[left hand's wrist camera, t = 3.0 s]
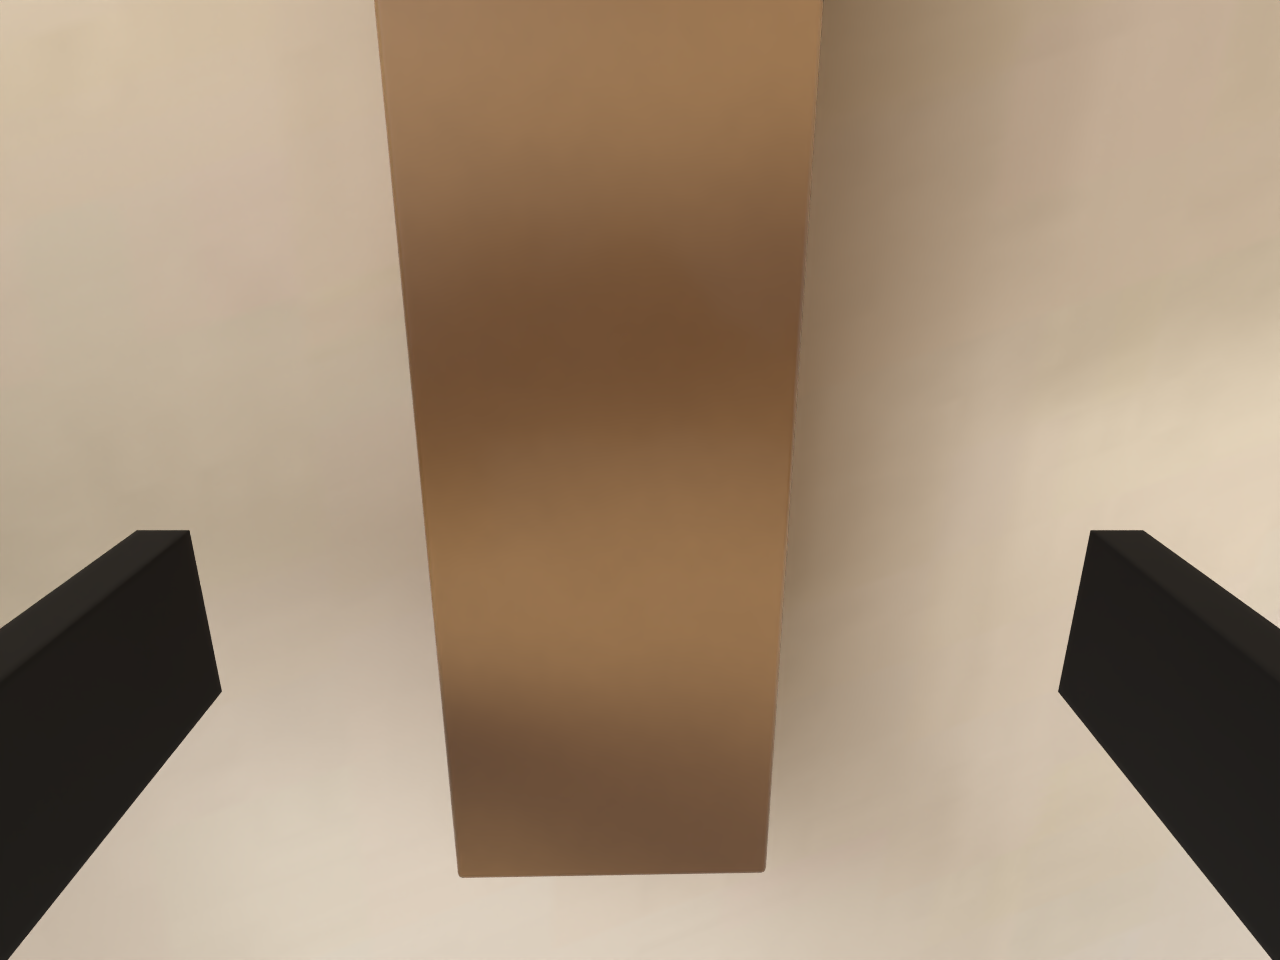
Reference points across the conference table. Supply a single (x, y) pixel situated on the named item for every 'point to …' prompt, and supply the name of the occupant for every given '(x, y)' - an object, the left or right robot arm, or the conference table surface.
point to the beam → (604, 410)
